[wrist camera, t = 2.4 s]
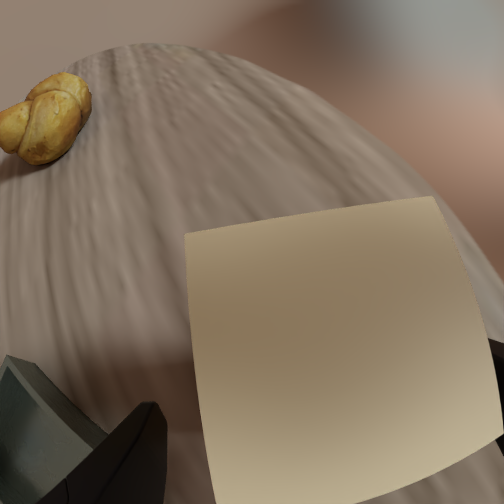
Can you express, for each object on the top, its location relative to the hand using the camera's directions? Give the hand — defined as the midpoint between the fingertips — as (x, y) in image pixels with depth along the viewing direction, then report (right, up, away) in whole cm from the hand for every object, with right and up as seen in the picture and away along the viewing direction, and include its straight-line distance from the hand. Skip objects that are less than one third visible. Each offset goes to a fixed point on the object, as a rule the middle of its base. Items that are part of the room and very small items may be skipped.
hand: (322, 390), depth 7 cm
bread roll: (-23, +17, +20) cm, 35 cm away
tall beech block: (+1, -3, +8) cm, 8 cm away
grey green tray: (-15, -11, +5) cm, 19 cm away
